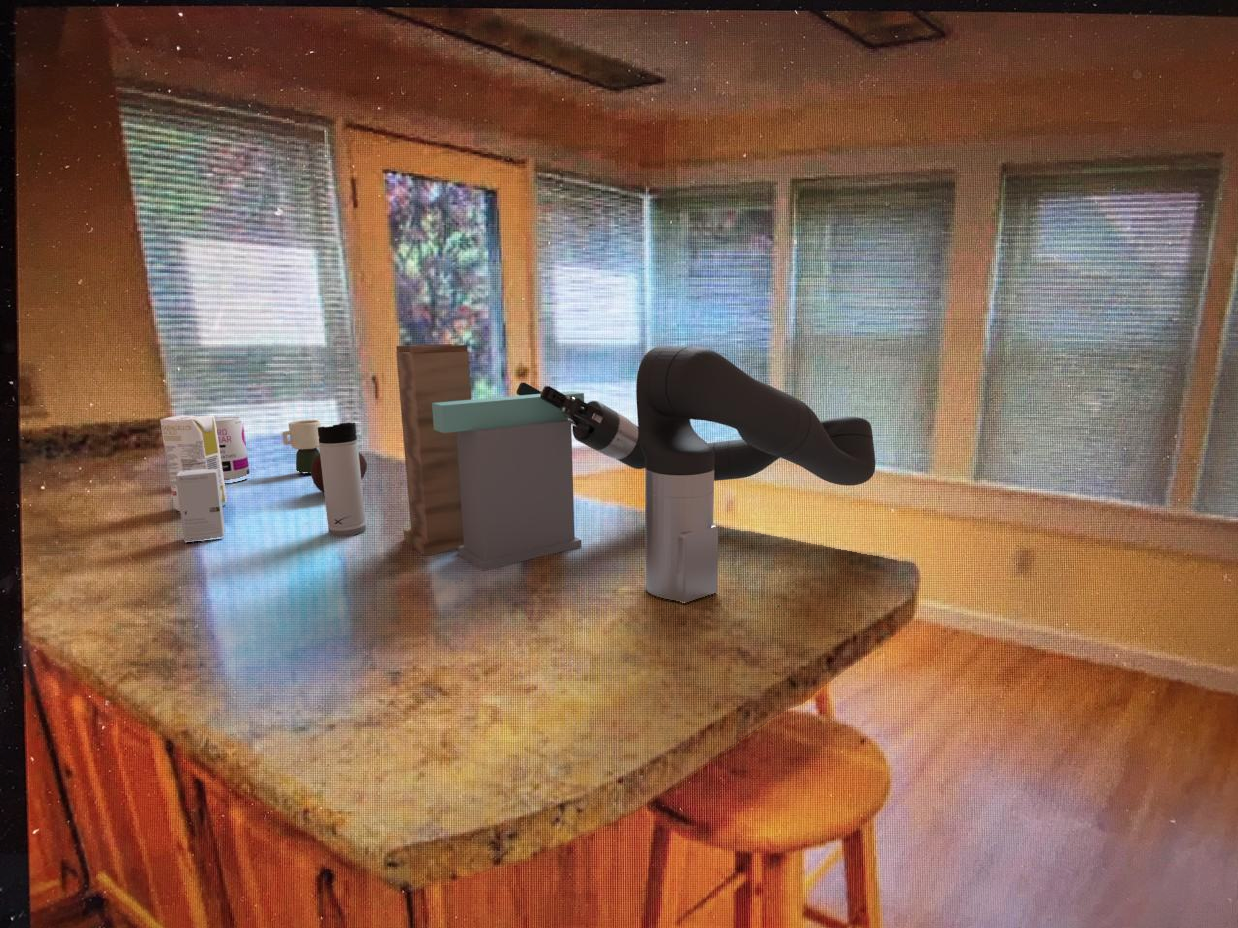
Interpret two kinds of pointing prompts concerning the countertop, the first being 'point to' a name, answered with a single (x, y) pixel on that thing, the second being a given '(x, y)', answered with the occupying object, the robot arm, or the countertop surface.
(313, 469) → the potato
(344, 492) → the travel mug
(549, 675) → the countertop surface
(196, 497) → the skincare box
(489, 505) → the charcoal pedestal
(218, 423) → the supplement can
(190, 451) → the juice carton
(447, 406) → the teal bar
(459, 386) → the walnut stand
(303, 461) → the character mug
